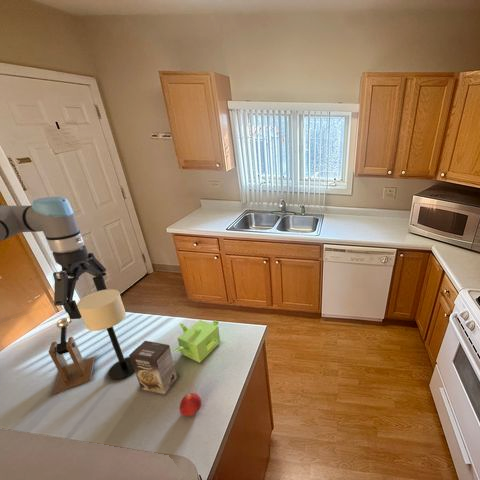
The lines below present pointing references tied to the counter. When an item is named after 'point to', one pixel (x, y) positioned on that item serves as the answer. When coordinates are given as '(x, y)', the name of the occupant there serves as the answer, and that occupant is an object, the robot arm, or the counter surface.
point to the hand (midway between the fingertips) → (90, 304)
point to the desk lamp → (107, 324)
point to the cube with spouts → (198, 340)
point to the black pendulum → (63, 335)
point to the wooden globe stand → (71, 367)
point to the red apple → (190, 404)
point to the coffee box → (154, 366)
